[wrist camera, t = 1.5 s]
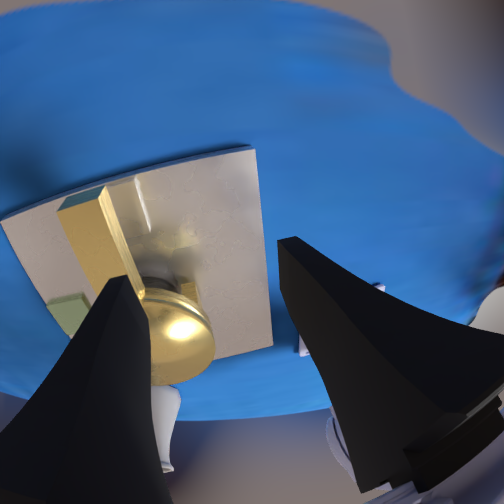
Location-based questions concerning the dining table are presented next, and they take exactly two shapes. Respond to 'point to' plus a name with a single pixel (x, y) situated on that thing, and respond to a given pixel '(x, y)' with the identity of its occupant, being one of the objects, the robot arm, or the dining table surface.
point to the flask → (164, 419)
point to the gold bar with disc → (139, 288)
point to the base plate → (166, 243)
